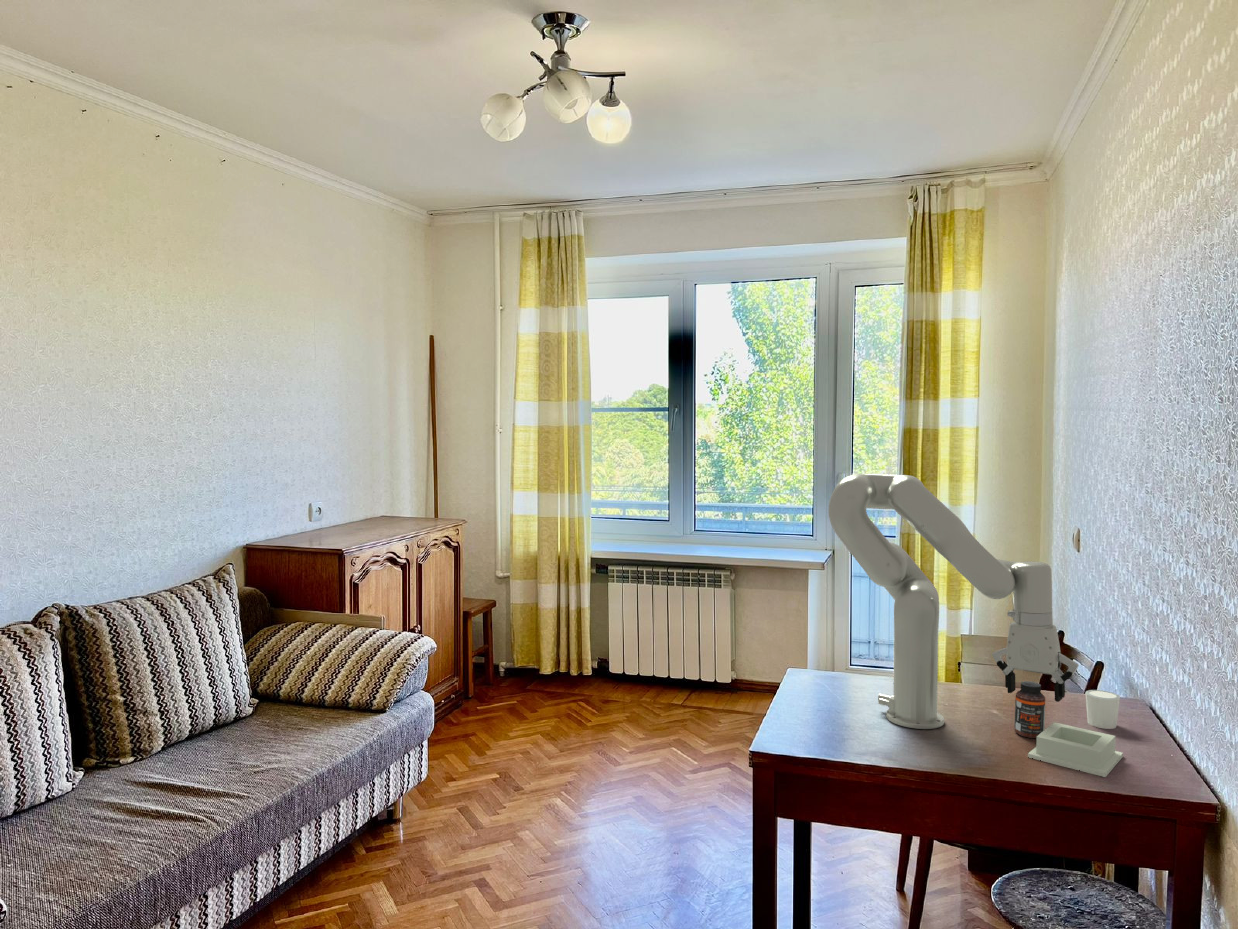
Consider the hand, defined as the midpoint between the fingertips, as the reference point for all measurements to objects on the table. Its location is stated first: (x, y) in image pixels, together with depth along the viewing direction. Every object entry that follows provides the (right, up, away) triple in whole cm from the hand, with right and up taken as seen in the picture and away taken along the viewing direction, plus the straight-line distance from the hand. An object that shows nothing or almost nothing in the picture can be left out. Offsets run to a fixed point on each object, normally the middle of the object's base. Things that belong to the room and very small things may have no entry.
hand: (1034, 695), depth 180 cm
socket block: (+2, -9, -12) cm, 15 cm away
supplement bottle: (-1, -9, +1) cm, 9 cm away
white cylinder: (+19, -9, +7) cm, 22 cm away
